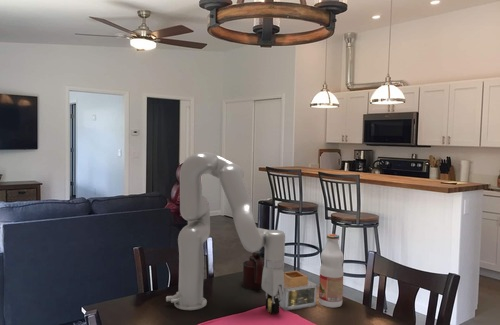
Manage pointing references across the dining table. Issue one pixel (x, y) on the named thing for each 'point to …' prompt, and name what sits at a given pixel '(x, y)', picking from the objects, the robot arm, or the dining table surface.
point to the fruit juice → (331, 274)
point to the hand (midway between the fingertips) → (272, 310)
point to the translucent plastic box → (305, 291)
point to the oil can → (253, 272)
